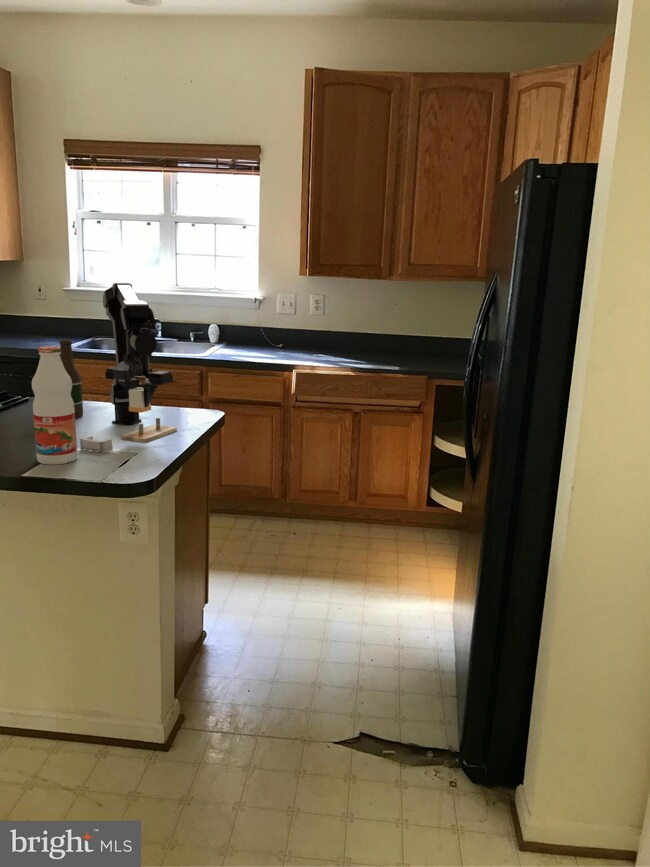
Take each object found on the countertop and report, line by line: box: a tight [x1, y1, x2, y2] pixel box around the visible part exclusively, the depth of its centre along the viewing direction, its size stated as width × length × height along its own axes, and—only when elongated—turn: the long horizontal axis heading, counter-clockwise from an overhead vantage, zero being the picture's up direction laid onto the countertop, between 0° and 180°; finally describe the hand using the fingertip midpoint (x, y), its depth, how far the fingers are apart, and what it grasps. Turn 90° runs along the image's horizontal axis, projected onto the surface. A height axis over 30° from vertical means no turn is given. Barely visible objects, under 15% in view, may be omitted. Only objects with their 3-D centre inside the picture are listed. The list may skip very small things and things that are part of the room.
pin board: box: [121, 417, 178, 443], centre depth 197 cm, size 8×15×4 cm, turn 158°
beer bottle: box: [58, 338, 84, 419], centre depth 213 cm, size 8×8×24 cm
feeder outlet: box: [79, 435, 113, 453], centre depth 181 cm, size 7×4×3 cm, turn 68°
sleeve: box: [129, 387, 152, 414], centre depth 191 cm, size 4×4×6 cm
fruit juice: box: [31, 345, 78, 466], centre depth 168 cm, size 9×9×28 cm
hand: (140, 406), depth 192 cm, fingers closed on sleeve, 4 cm apart
